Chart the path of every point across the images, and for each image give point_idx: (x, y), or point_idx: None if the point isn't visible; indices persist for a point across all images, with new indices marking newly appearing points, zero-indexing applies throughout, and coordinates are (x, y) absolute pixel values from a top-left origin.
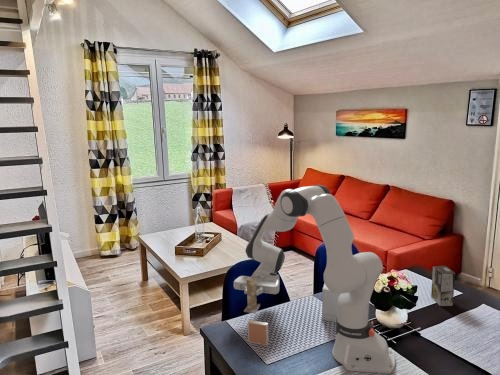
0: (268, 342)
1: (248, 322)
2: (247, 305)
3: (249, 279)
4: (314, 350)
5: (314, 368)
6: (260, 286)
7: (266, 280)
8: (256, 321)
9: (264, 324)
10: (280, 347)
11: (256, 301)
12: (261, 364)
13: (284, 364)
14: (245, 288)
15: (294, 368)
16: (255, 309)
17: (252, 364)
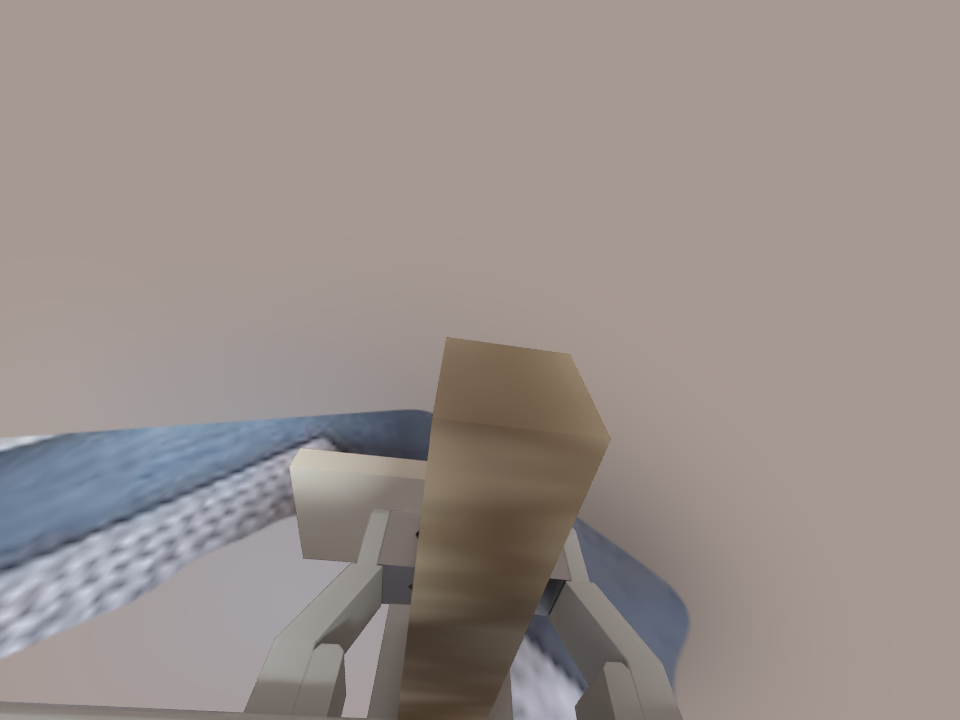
0: (303, 554)
1: (424, 463)
2: (511, 700)
3: (533, 364)
4: (6, 547)
5: (116, 437)
6: (318, 718)
7: None
8: (372, 470)
9: (317, 451)
10: (235, 536)
11: (400, 692)
12: (345, 433)
13: (249, 441)
14: (598, 592)
15: (212, 429)
16: (400, 623)
17: (379, 430)
